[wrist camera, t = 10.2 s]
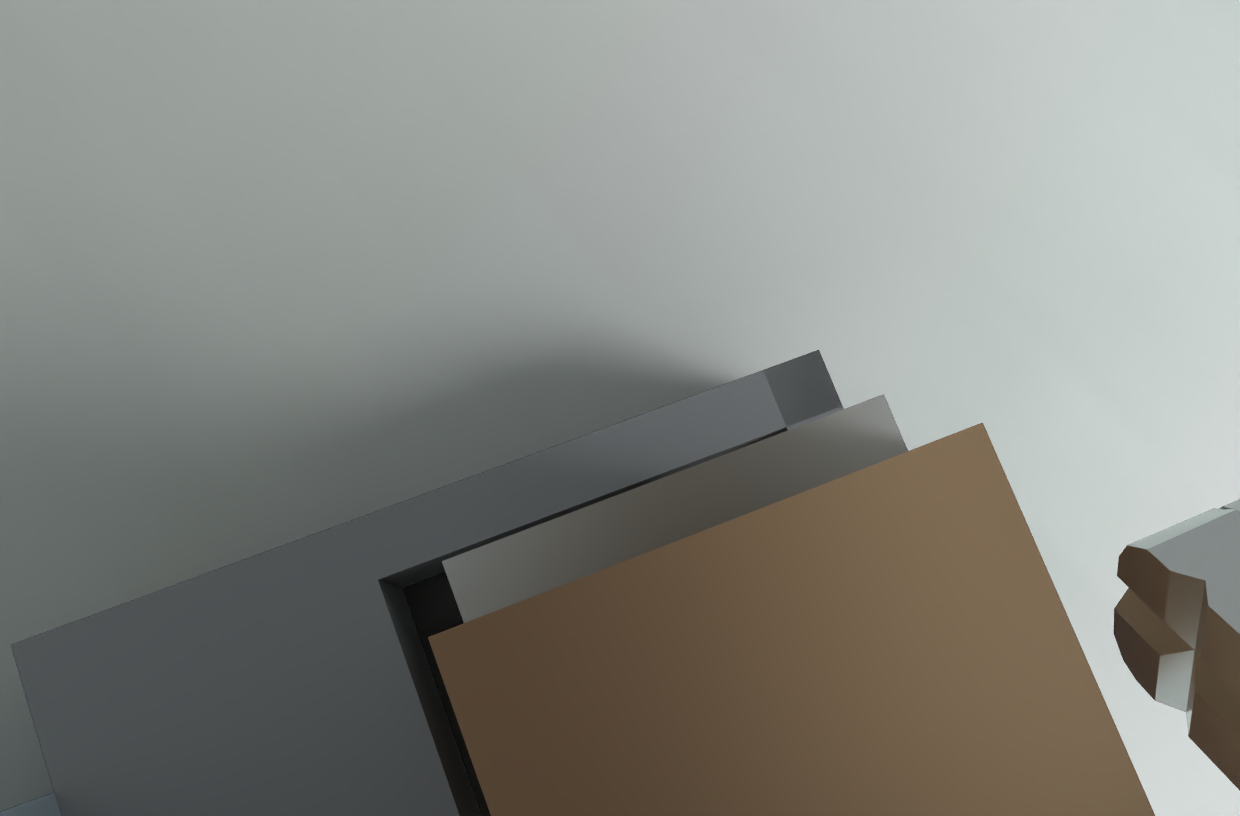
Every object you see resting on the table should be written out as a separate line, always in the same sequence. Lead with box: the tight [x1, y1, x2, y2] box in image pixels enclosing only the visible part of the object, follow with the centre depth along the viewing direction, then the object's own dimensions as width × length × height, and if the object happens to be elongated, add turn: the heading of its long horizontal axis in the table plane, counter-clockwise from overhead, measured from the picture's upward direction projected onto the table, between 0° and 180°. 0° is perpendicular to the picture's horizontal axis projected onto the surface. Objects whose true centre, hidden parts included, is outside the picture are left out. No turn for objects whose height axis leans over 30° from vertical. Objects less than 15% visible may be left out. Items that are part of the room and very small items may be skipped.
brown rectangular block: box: [428, 394, 1155, 816], centre depth 12 cm, size 4×6×10 cm
